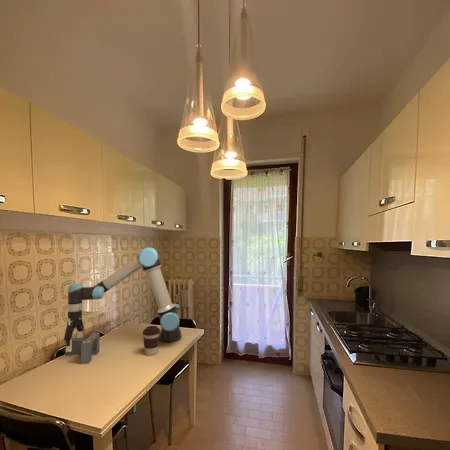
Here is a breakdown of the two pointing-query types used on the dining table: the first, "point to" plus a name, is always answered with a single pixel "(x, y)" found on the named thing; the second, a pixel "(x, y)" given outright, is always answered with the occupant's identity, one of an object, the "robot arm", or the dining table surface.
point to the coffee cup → (151, 340)
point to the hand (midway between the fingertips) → (74, 346)
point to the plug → (75, 346)
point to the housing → (90, 348)
